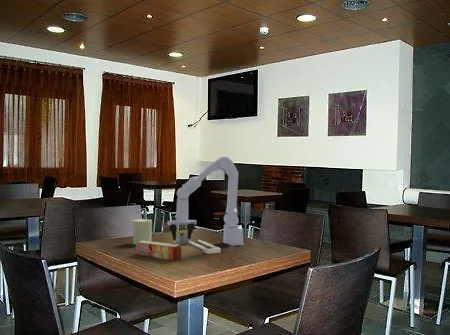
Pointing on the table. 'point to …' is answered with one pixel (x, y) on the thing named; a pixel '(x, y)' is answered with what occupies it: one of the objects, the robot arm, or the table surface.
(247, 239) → the table surface
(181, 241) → the block
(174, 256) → the snack package
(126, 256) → the table surface
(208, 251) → the rail
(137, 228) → the can
